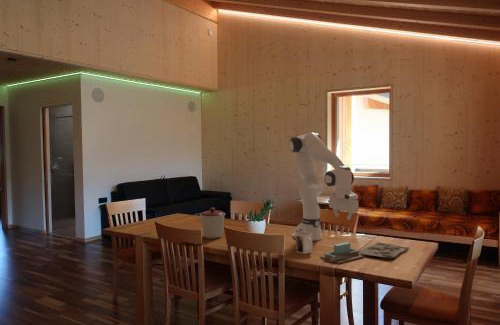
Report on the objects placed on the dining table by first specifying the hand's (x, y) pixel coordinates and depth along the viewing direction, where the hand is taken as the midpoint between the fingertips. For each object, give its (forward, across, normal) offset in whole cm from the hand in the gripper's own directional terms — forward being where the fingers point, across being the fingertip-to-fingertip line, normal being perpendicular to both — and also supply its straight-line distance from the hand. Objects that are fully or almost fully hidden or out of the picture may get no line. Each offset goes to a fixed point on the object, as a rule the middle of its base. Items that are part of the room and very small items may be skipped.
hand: (342, 218), depth 226 cm
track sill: (+22, +3, -2) cm, 23 cm away
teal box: (+21, +3, -2) cm, 21 cm away
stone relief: (+22, +9, +26) cm, 35 cm away
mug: (+23, -19, -12) cm, 32 cm away
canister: (+26, -85, -40) cm, 97 cm away
